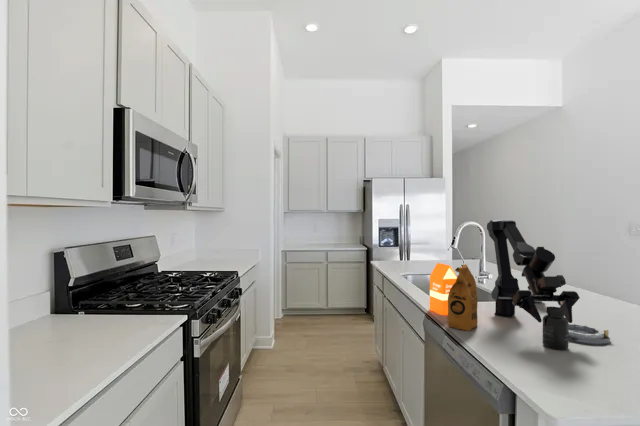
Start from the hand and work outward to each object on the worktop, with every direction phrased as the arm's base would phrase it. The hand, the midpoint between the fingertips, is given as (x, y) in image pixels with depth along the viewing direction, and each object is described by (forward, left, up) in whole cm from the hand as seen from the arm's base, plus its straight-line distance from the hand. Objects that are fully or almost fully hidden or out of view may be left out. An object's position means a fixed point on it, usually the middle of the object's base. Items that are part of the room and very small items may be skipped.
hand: (555, 322), depth 112 cm
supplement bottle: (0, 0, -8) cm, 8 cm away
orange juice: (-40, +18, -8) cm, 45 cm away
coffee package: (-29, +4, -8) cm, 30 cm away
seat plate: (+6, +16, -8) cm, 19 cm away
